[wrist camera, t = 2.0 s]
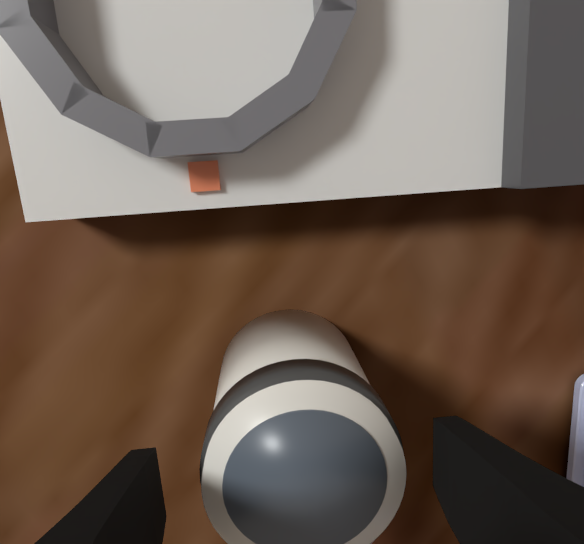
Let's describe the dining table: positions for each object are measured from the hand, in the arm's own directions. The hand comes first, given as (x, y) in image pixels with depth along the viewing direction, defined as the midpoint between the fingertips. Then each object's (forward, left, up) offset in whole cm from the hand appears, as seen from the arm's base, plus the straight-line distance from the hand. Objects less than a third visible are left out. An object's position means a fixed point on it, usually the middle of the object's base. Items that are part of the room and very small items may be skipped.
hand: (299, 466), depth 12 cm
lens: (0, 0, -5) cm, 5 cm away
